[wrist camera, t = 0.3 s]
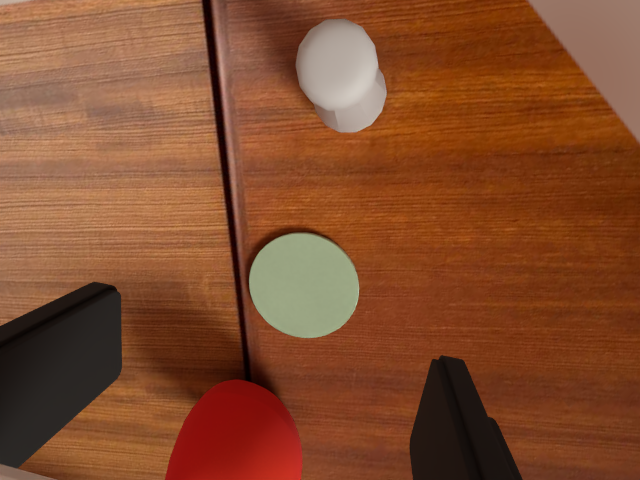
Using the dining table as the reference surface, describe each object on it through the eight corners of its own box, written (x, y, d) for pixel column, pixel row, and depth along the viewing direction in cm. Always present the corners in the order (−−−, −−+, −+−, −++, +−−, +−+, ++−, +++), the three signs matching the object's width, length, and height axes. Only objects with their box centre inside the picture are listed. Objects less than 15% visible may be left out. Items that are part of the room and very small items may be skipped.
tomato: (190, 388, 40) (96, 512, 26) (262, 338, 37) (197, 448, 23) (261, 465, 41) (206, 621, 27) (335, 423, 38) (315, 575, 24)
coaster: (231, 258, 35) (229, 260, 34) (329, 213, 32) (328, 214, 32) (281, 349, 37) (280, 352, 36) (377, 313, 34) (377, 316, 33)
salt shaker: (368, 48, 28) (366, -33, 16) (396, 114, 29) (413, 87, 17) (305, 83, 30) (257, 34, 17) (333, 145, 31) (307, 142, 18)
